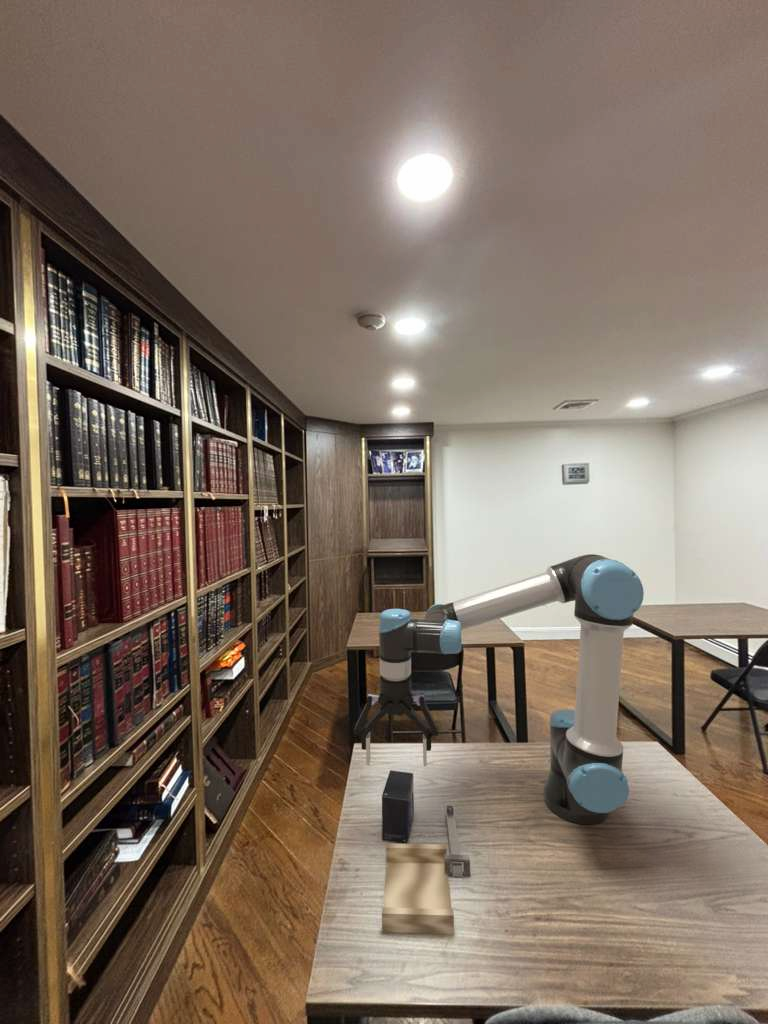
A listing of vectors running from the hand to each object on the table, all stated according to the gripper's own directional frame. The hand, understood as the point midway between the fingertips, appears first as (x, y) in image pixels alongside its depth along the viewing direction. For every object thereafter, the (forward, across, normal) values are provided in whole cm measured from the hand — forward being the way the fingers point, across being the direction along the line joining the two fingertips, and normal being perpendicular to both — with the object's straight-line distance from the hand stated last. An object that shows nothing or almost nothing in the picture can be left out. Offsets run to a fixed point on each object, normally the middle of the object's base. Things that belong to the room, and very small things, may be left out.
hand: (396, 762), depth 106 cm
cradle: (+15, -7, +18) cm, 25 cm away
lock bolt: (+15, -13, +5) cm, 21 cm away
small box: (+16, 0, 0) cm, 16 cm away
